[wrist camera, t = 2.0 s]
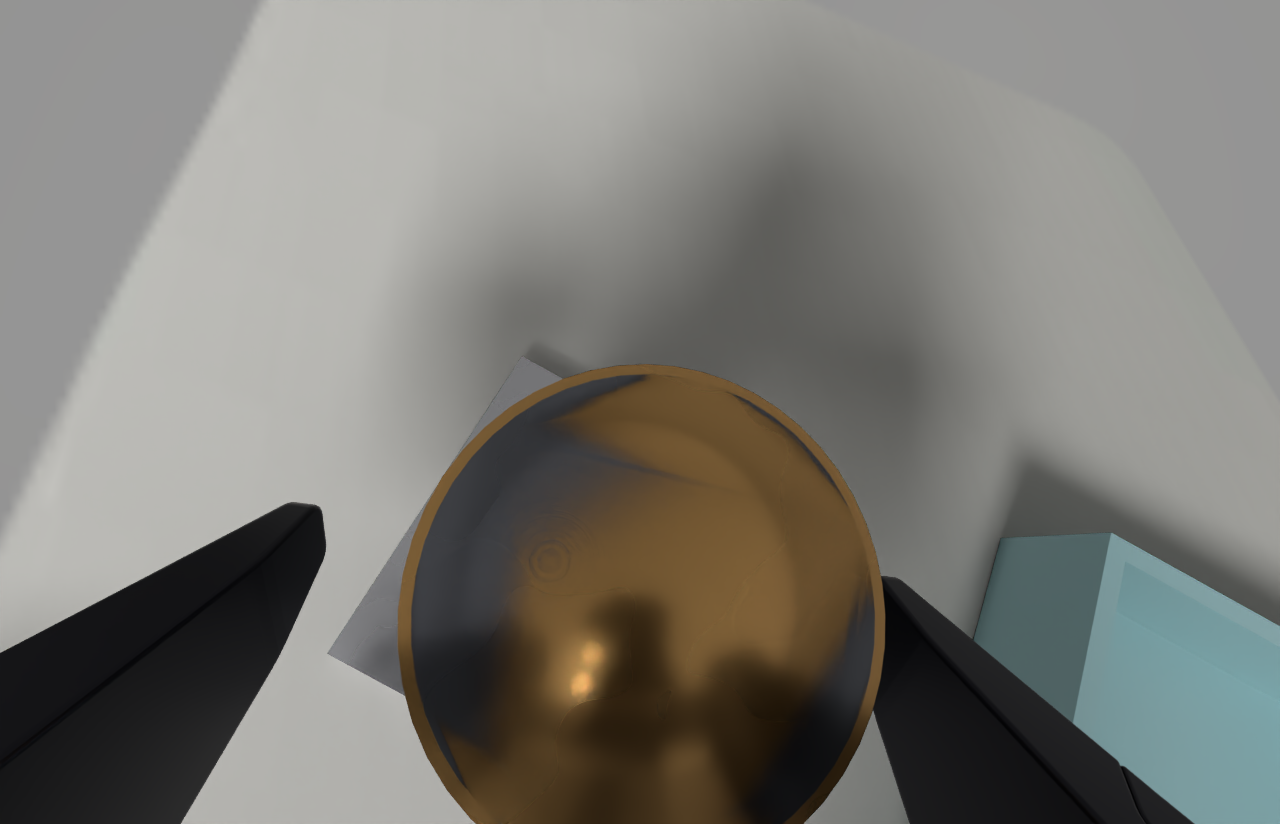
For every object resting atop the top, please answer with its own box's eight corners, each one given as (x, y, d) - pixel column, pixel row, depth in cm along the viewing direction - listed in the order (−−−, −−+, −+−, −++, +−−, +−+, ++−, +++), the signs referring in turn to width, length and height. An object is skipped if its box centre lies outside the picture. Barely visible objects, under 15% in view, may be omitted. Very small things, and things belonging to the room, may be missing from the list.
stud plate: (646, 815, 15) (673, 887, 12) (338, 648, 15) (278, 673, 12) (778, 505, 18) (828, 493, 15) (523, 364, 18) (517, 320, 15)
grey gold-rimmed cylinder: (610, 678, 15) (787, 1020, 4) (475, 605, 15) (255, 735, 4) (677, 539, 17) (952, 491, 5) (553, 471, 17) (562, 276, 5)
